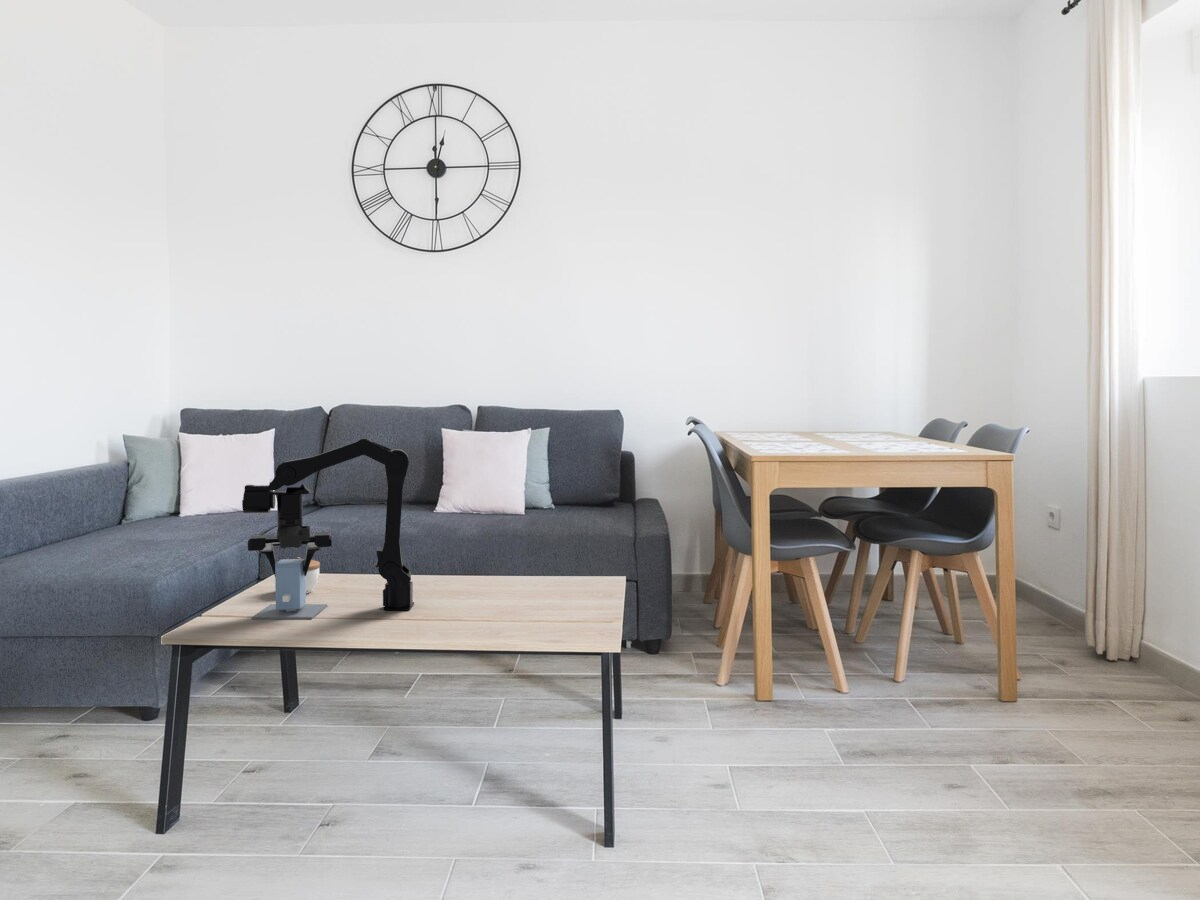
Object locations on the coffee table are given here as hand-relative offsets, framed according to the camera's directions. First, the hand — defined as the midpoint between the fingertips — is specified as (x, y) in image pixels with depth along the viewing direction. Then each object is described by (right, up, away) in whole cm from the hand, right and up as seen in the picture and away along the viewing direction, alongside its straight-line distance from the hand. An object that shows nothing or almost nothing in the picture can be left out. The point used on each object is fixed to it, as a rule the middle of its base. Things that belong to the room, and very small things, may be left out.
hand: (290, 576), depth 194 cm
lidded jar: (-6, -8, +21) cm, 23 cm away
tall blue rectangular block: (0, -7, 0) cm, 7 cm away
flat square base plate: (0, -9, 0) cm, 9 cm away
